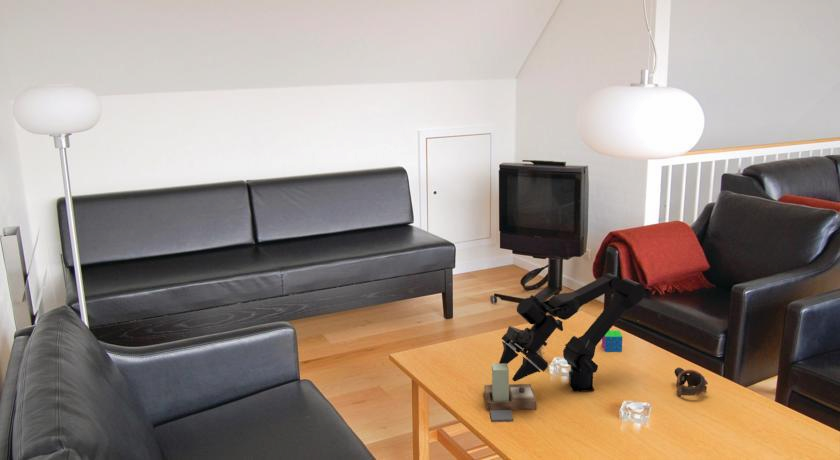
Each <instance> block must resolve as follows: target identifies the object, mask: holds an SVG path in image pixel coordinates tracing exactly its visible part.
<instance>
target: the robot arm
mask: <svg viewBox="0 0 840 460" xmlns="http://www.w3.org/2000/svg"><path fill="white" fill-rule="evenodd" d="M611 291H613V294H612V299H611V301H610V302H609V303H608V305H607V306H606V307H605V308H604V309H603V311H602V312H601V313H600V315H598V317H597V318H596V319H595V320H594V322H593V323H592V324H591V325H590V326H589V328H588V329H586V331H585V332H584V333H583V335H581V336H579V337H577V336H575V335H572V337H571V338H570V339H569V341H568V342H567V343H565V344H564V346H565V347H564V349H563V351H562V353H563V354H562V356H563V359H564V360H565V361H566V362H567V365H568V366H570V370H569V371H568V385H569V387H570V388H571V390H572V392H594V391H595V387H594V373H597V372H598V369H599V365H598V364H597V363H596V362H595V361H593V358H594V357H595V353H596V348H597V346H598V344H599V343H600V342H602V338H603V337H604V336H605V335H606V333H607V332H608V331H609V330H611V328H613V327H614V325H615V324H616V322H617V321H618V320H619V319H620V318H621V316H622V315H624V313H625V312H626V311H627V310H629V309H632V308H634V307H636V306H637V305H638V304H639V303H640V302H642V301H643V300H644V298H645V297H646V288H645V286H644V285H643V284H641V283H639V282H637V281H634V280H631V279H630V278H624V279H621V278H620V277H618V276H616V275H614V274H612V273H604V274H603V275H602V276H601V277H600V278H597V279H595V280H593V281H592V282H590V283H588V284H585V285H584V286H582V287H580V288H578V289H576V290H573V291H571V292H562V293H559V294H555V295H553V296H551V297H550V298H549V299H546V300H544V301H540V300H539V299H538V298H537V297H536V296H535V295H534V294H530V295H529V297H526V298H524V299H523V300H520V301H519V303H518V304H517V307H516V312H517V314H519V315H520V316H521V317H522V318H523V319H524V320H525V321H526V322H527V323H529V324H530V325H532V326H531V327H530V328H529V327H526V328H525V329H519V328H517V327H513V326H510V325H509V326H508V328H507V330H506V333H504V335H503V336H502V337H501V340H502V341H501V343H502V345H503V350H502V354H501V357H500V360H499V362H498V364H504V363H507V365H508V364H509V363H510V362H512V361H513V360H514V359H516V358H517V357H518V356H519V354H518V353H522V354H523V355H524V356H525V357H524V356H522V364H521V365H520V367H519V368H518V369H517V371H516V372H515V373H514V375H513V376H512V379H511V380H512V381H513V382H517V381H519V380H522V379H523V378H526V377H528V376H530V375H533V374H536V373H540V372H541V371H542V372H543V373H544V372H546V370H547V369H548V367H549V364H548V363H549V362H548V361H547V360H546V359H544V357H541V356H540V355H539V354H537V351H538V350H539V349H540V348H541V346H542V345H544V346H542V347H547V345H548V343H546V341H548V339H549V338H550V337H551V336H552V334H553V333H554V332H555V330H556V329H558V330H559V331H561V332H563V330H564V327H563V321H566V320H568V319H570V318H571V317H573V316H574V315H575V314H577V313H578V311H579V309H580V308H581V307H582V306H584V305H586V304H588V303H589V302H592V301H593V300H595V299H598V298H600V297H601V296H604V295H605V294H607V293H610V292H611ZM555 317H556V318H555ZM557 318H559V319H557ZM562 320H563V321H562Z"/></svg>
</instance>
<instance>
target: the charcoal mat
mask: <svg viewBox="0 0 840 460" xmlns="http://www.w3.org/2000/svg"><path fill="white" fill-rule="evenodd" d="M489 415H490V419H491V422H492V423H496V422H498V423H500V422H502V423H503V422H514V416H513V412H512V410H490V411H489Z"/></svg>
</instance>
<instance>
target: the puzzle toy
mask: <svg viewBox="0 0 840 460" xmlns="http://www.w3.org/2000/svg"><path fill="white" fill-rule="evenodd" d="M602 346H603V347H602ZM601 347H602V349H603V348H604V349H603V351H604V352H605V353H622V352H623V335H622V334H621V331H620V330H618V329H617V330H613V329H612V330H611V329H610V330H609V331H608V332H607V333H606V335H605V336H604V337H603V338H602V339H601Z"/></svg>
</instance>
